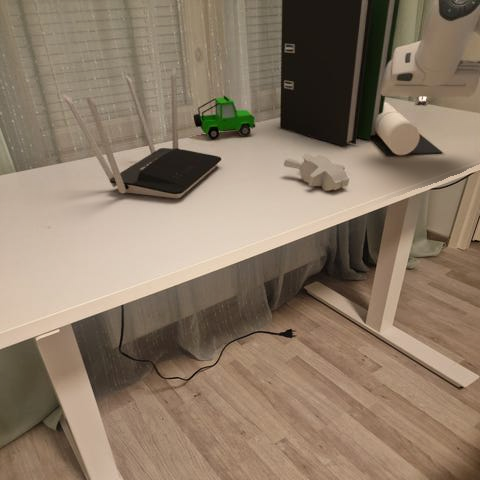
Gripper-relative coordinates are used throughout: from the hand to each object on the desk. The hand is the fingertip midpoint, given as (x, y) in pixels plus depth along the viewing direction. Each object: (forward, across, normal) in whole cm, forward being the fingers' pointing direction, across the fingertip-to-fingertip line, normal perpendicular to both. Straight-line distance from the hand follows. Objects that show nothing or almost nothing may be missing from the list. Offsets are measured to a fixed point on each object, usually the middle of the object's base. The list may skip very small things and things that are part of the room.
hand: (420, 102), depth 102 cm
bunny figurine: (-9, +22, +25) cm, 35 cm away
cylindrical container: (+2, +2, +8) cm, 9 cm away
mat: (+14, +2, +2) cm, 14 cm away
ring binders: (+18, +22, -2) cm, 29 cm away
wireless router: (-11, +58, +27) cm, 65 cm away
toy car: (+15, +52, +2) cm, 54 cm away
